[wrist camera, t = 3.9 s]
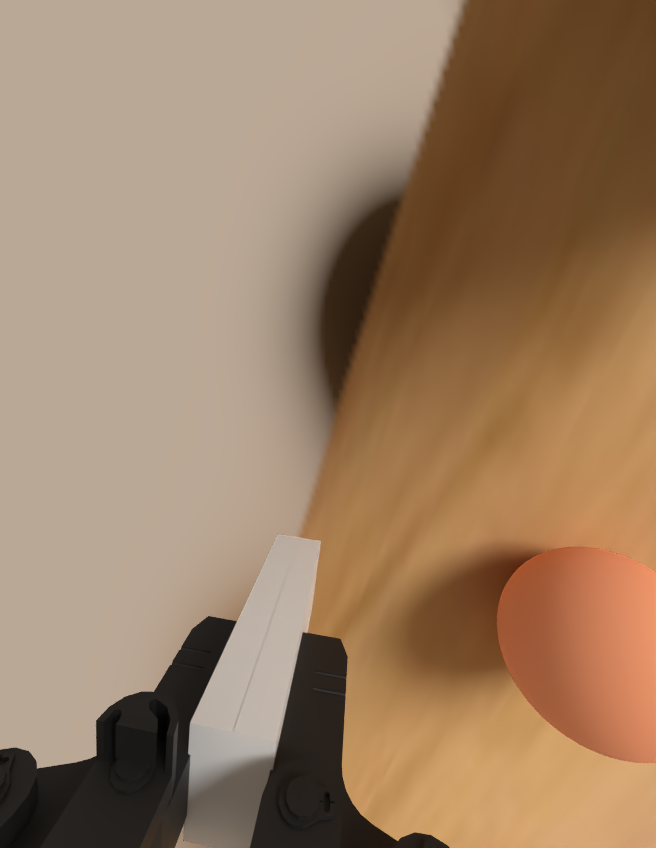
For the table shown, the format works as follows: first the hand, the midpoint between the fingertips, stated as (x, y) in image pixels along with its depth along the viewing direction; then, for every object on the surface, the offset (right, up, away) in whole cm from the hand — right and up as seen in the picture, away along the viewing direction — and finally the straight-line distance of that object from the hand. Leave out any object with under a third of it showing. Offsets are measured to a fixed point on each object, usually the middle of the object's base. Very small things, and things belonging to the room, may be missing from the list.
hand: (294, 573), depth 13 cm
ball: (+9, -2, -1) cm, 10 cm away
